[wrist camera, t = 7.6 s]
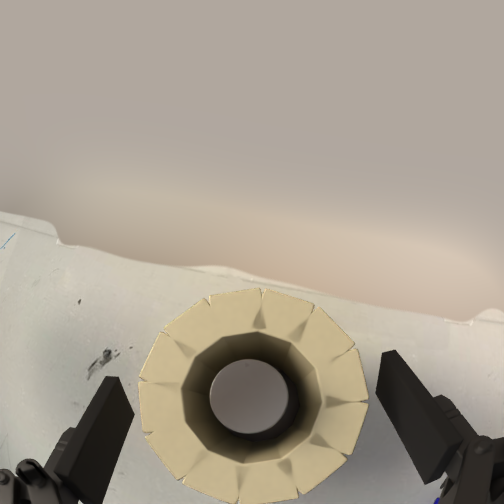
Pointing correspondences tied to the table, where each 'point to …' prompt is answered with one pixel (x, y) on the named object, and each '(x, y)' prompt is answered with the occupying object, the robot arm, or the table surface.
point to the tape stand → (254, 400)
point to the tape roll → (277, 355)
